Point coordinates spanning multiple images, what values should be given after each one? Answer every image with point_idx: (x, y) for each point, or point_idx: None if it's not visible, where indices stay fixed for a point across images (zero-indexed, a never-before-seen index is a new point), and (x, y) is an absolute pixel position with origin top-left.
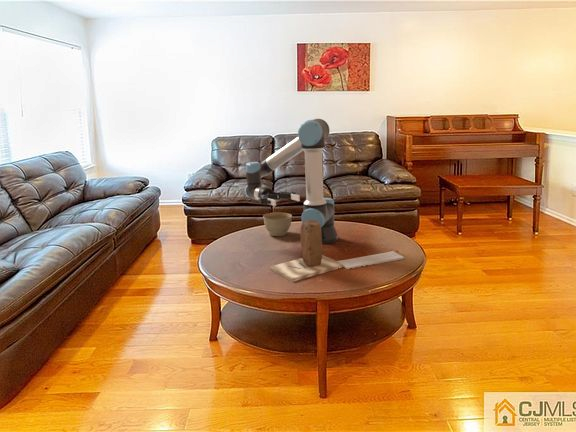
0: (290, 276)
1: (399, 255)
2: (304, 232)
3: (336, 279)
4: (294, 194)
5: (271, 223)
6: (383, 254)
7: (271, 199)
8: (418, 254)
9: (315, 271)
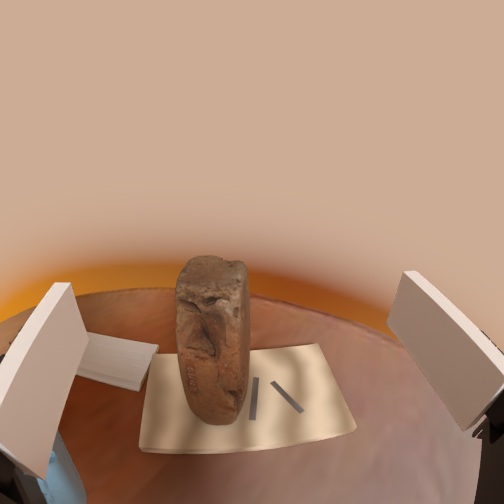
0: (317, 353)
1: None
2: (246, 306)
3: None
4: (13, 355)
5: None
6: None
7: (453, 308)
8: (9, 319)
9: None
